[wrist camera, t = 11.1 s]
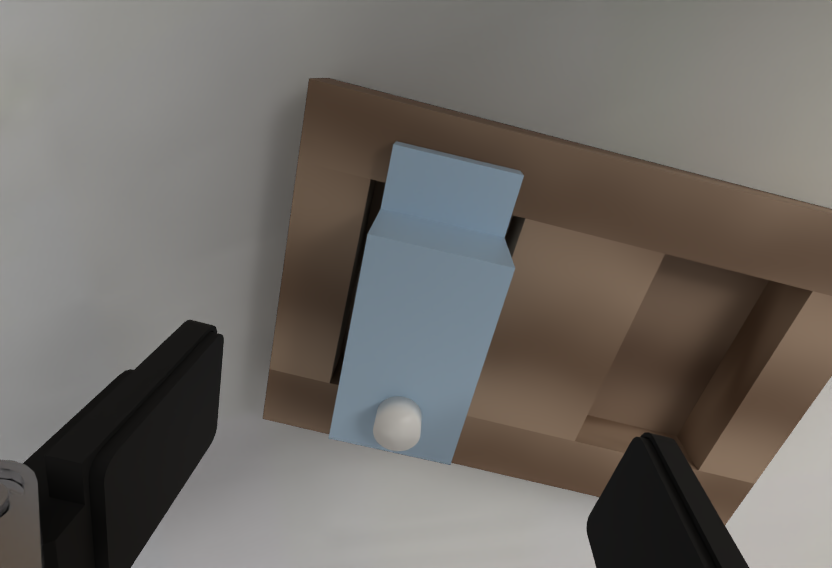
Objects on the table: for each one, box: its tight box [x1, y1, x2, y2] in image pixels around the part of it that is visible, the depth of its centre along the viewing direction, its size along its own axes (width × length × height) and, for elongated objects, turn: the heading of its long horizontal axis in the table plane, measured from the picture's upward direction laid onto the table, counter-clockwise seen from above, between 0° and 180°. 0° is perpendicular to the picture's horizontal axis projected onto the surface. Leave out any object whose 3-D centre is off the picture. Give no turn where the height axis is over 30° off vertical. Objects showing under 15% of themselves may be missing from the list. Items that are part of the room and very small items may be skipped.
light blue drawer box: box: [329, 141, 524, 465], centre depth 16 cm, size 11×4×6 cm, turn 167°
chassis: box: [263, 78, 832, 525], centre depth 19 cm, size 13×20×3 cm, turn 76°
